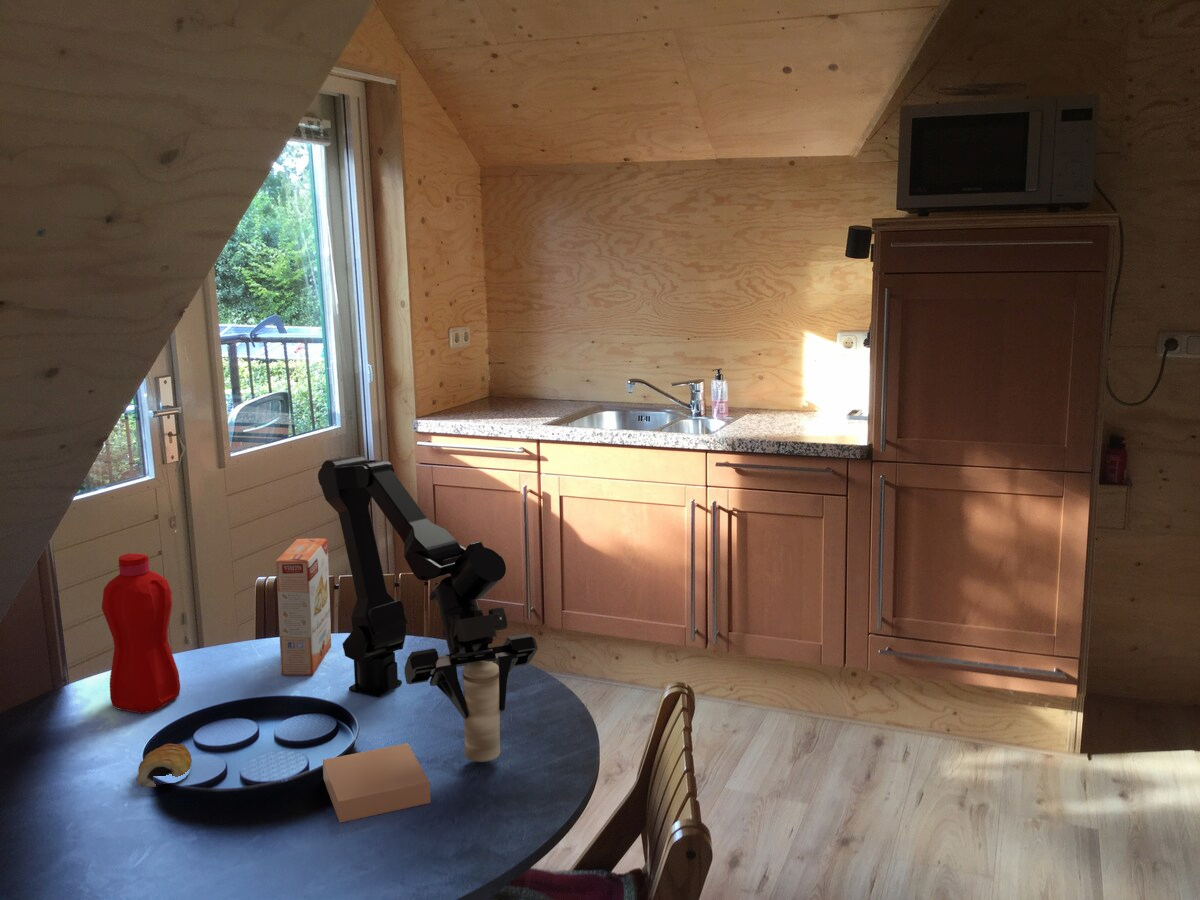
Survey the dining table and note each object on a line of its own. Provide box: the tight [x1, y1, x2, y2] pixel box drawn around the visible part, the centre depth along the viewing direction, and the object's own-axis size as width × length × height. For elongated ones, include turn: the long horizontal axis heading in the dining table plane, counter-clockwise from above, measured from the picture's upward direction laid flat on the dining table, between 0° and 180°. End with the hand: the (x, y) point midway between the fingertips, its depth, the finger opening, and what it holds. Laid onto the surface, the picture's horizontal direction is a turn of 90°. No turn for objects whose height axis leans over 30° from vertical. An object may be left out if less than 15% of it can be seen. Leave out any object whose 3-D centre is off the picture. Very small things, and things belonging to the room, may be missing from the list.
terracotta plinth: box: [322, 742, 431, 824], centre depth 142 cm, size 12×12×3 cm
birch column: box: [462, 661, 501, 763], centre depth 148 cm, size 5×5×13 cm
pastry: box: [136, 743, 193, 788], centre depth 147 cm, size 9×7×4 cm
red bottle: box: [101, 552, 181, 714], centre depth 168 cm, size 9×11×25 cm
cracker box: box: [275, 537, 332, 676], centre depth 184 cm, size 14×6×21 cm, turn 1°
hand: (484, 714), depth 147 cm, fingers closed on birch column, 5 cm apart
